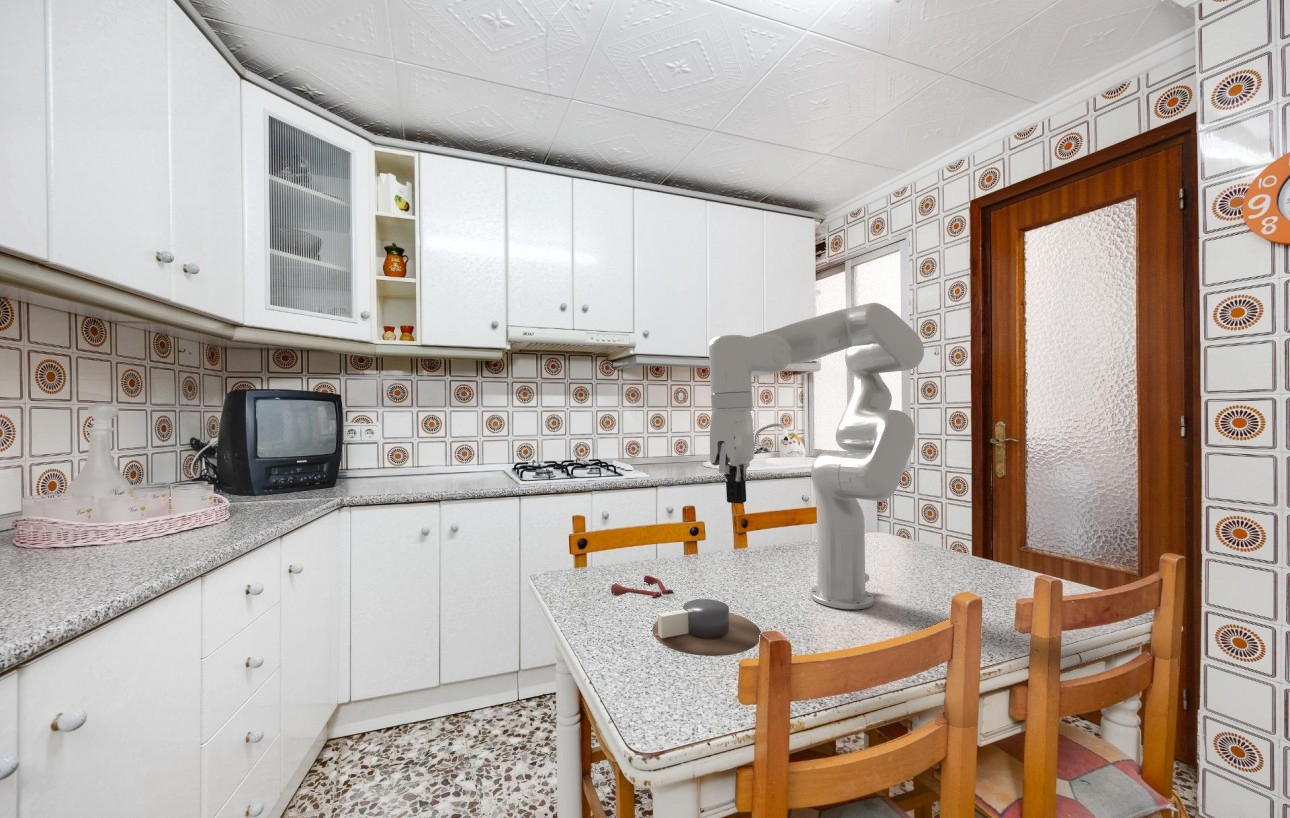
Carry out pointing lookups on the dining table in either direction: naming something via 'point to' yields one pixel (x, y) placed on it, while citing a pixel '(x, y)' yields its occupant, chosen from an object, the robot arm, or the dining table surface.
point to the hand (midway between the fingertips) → (736, 502)
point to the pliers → (621, 590)
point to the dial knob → (696, 619)
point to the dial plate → (716, 639)
